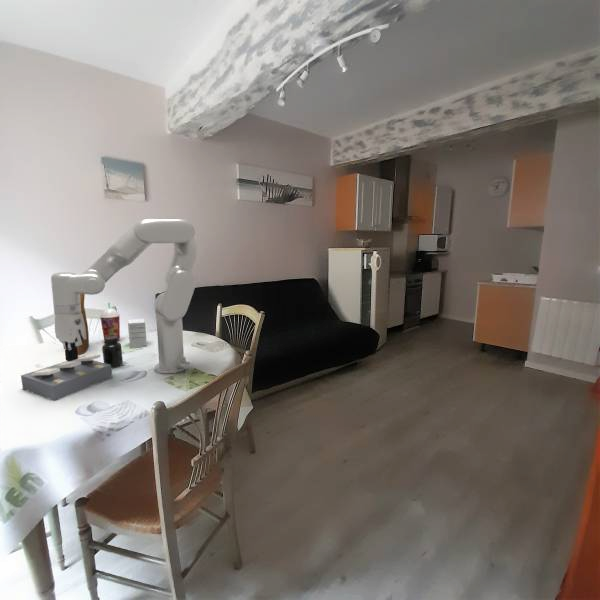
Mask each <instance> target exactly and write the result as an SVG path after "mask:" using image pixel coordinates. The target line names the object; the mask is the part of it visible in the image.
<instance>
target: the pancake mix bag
mask: <svg viewBox="0 0 600 600" xmlns="http://www.w3.org/2000/svg"><path fill="white" fill-rule="evenodd" d="M85 295H86V294H80V302H81V313H82V315H83V319H84V323H85V329H86V340H81V341H82V345H81V346H78V348H77V351H78V356H81V355H84V354H85V353H86V352H87V350H88V348H89V345H90V339H89V338H90V337H89V335H90V333H89V326H88V320H87V319H88V318H87V315H86V309H85Z"/></svg>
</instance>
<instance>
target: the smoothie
mask: <svg viewBox="0 0 600 600" xmlns="http://www.w3.org/2000/svg"><path fill="white" fill-rule="evenodd" d="M107 305H108V307H107V308H106V309H104V310H103V311H101V314H100V315H99V318H100V322H101V329H102V335H103V336H102V337H103V339H104V338H106V337H110V336H116V337H118V342H119V341H120V339H121V338H120V335H121V334H120V333H121V332H120V331H121V329H120V326H121V325H120V319H121V318H120V316H121V315H120V313H119V312H118V310H117V309H115V308H112V307H111V306H110V305H111V303H110V302H108V303H107Z"/></svg>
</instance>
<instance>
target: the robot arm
mask: <svg viewBox="0 0 600 600" xmlns="http://www.w3.org/2000/svg"><path fill="white" fill-rule="evenodd" d="M195 235H196V229H195V226H194V224H193V223H192V222H190V221H189V220H187V219H183V218H181V219H180V218H179V219H178V218H177V219H176V218H175V219H171V218H169V219H168V218H167V219H165V218H164V219H163V218H162V219H161V218H160V219H159V218H158V219H157V218H144V219H141V220H139V221H137V222H136V223H135V224H134V225H133V226H131V227H130V228H129V229H128V230H127V231H126V232H125V233H124V234H123V235H122V236H120V238H118V240H116V241H115V242H114V243H113V244H112V245H111V246H110V247H109V248H108V249H107V250H106V251H105V252H104V253H103V254H102V255H101V256H100V257H99V258H98V259H97V260H96V261H95V262H94V263H93V264H91V266H89V268H87V269H86V270H85V271H84V272H83V273H82V274H77V273H75V272H56V273H53V274H52V275H51V277H50V281H51V292H52V303H53V314H54V334H55V338H56V339H57V340H59V343H61V344H62V345H63V350H64V355H65V361H73V360H76V359H78V357H79V355H78V351H77V348H78V346H81V345H82V341H81V340H86V329H85V323H84V319H83V315H82V313H81V302H80V294H84V295H88V296H89V295H91V296H93V295H98V294H100V293H101V292H103V291H104V290H105V287H106V283H107V282H109V280H110V279H111V278H112V277H113V276H114V275H116V273H118V272H119V271H120V270H122V269H124V268H125V267H127V266H129V265H131V264H132V263H133V262H135V260H136V259H137V258H139V256H140V255H142V254H143V253H144V251H146V250H147V249H148V248H149V247H150V246H151V245H152V244H173V246H174V247H173V249H174V250H173V254H172V258H171V260H170V264H169V267H168V269H167V272H166V274H165V277H164V278H165V284H166V285H167V287H166V290H165V291H164V292H162V293H160V294H159V295H158V296H157V297H156V299H155V301H154V312H155V319H156V330H157V331H156V334H157V350H158V351H157V352H158V363H156V365H155V367H154V370H155V371H156V372H157V373H159V374H166V375H167V374H168V375H169V374H175V373H180V372H183V371H185V370H186V369H188V368H189V366H190V365H191V362H190V361H187V359H186V357H185V355H184V333H183V332H184V331H183V330H184V329H183V328H184V327H183V317H184V316H185V315H186V313H187V311H188V309H189V306H190V304H191V300H192V297H193V295H194V291H195V288H196V282H197V281H196V277H195V275H194V272H193V270H194V266H195V262H196V259H197V255H198V247H197V242H196V240H195Z"/></svg>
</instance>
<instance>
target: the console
mask: <svg viewBox="0 0 600 600" xmlns="http://www.w3.org/2000/svg"><path fill="white" fill-rule="evenodd" d="M79 357H80V356H78V358H79ZM64 362H74V360H73V361H66V360H65V361H64ZM54 365H55V364H53V365H51V366H47V367H45V368H46V369H52V368H54ZM32 372H33V371H32ZM32 372H29V373H27V372H26V373H24V374H22V375H20V378H21V386H22V390H24V389H25V391H27V390H28V391H27V392H30V393H32V392H33V394H35V395H38V396H41V397H44V398H46V399H49V400H52V401H57V400H60V399H62V398H65V397H67V396H70V395H72V394H75V393H77V392H79V391H82V390H84V389H86V388H87V389H88V388H90V387H91V386H94V385H97V384H99V383H103V381H106V380H108V379H111V378H113V373H112V368H111V365H109V364H106V363H104V362H100V361H98V360H95V359H94V360H91V361H81V364H79V365H77V366H74V367H69V368H60V371H59V372H56V373H53V374H50V375H33V376H32V374H31V373H32Z"/></svg>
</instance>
